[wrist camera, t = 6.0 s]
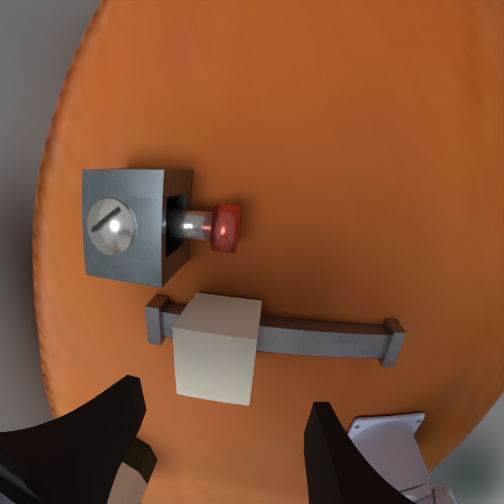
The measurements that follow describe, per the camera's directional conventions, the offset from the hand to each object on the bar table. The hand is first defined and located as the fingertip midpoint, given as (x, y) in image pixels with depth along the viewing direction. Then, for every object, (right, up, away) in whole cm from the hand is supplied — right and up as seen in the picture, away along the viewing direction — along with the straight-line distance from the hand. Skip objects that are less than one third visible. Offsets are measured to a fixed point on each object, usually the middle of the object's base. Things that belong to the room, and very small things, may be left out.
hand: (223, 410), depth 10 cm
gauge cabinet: (-5, +9, +8) cm, 13 cm away
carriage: (-1, +1, +10) cm, 10 cm away
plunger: (-2, +8, +7) cm, 11 cm away
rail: (+3, +1, +10) cm, 10 cm away
